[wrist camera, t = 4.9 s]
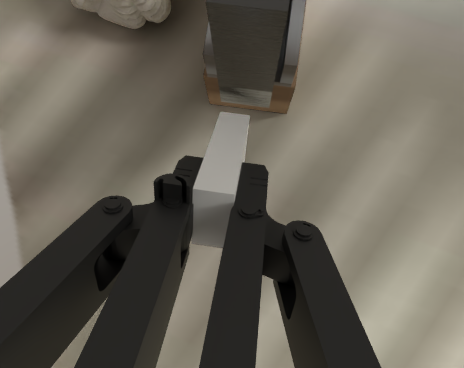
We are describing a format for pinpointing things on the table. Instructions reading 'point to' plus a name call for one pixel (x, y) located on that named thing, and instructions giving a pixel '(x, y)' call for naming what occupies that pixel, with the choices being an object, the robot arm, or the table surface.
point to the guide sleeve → (285, 67)
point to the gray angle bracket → (247, 47)
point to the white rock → (127, 10)
